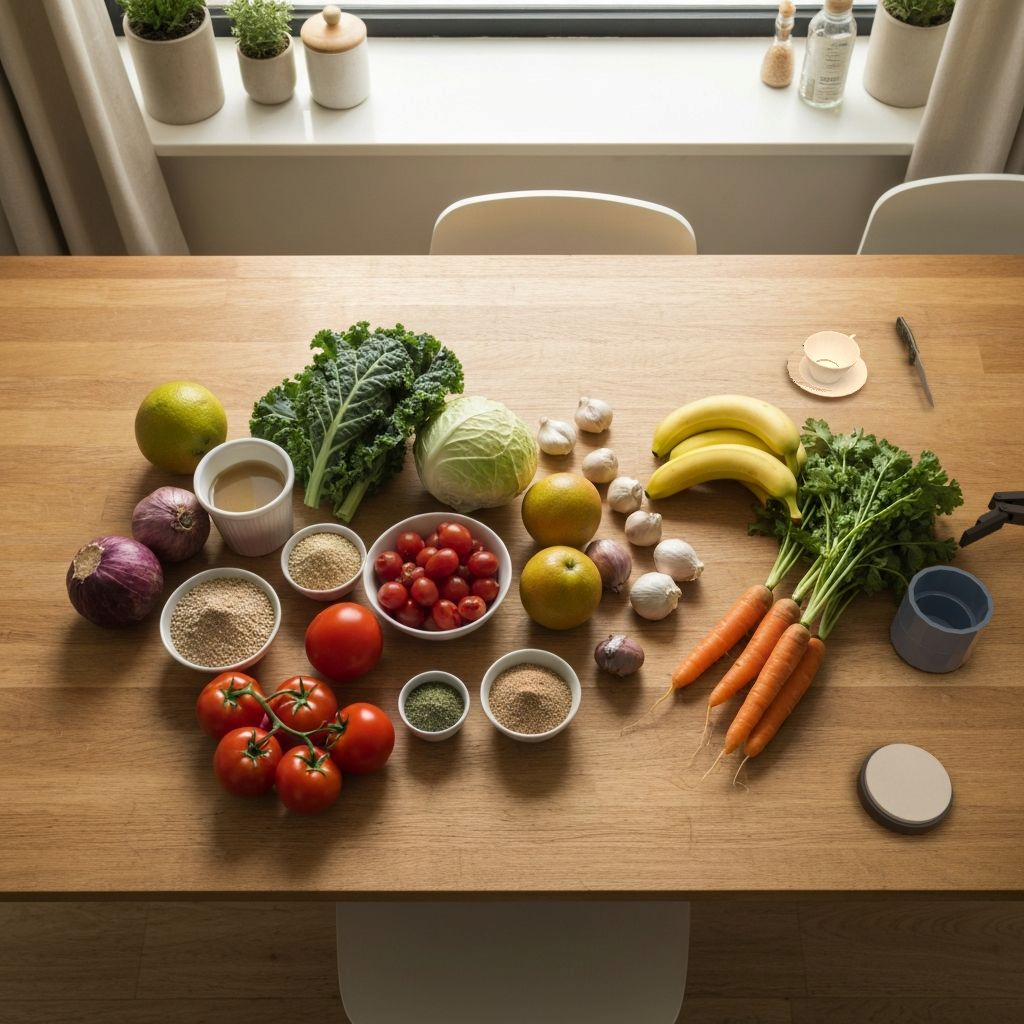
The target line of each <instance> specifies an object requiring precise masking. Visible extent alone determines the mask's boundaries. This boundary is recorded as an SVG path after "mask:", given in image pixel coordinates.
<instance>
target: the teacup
mask: <svg viewBox="0 0 1024 1024" xmlns="http://www.w3.org/2000/svg"><path fill="white" fill-rule="evenodd" d="M856 337H857V335H856V334H855V333H853V334H851V335H850V336H848V335H847V334H844V333H841V332H837V331H831V330H830V331H829V330H824V331H823V330H822V331H818V332H816V333H813V334H811V335H810V336H808V337H807V338H806V340H805V342H804V344H803V345H804V351H805V355H806V356H804V357H803V358H802V360H801V361H800V363H799V369H798V370H799V373H800V375H801V377H802V378H803V379H804V380H805V381H806V382H807V383H809V384H810V385H812V386H814V387H817V388H820V389H826V390H832V391H825V390H824V391H825V392H824V391H823V390H822V391H823V392H822V391H818V390H817V391H816V389H815V390H813V389H812V388H809V387H806V386H803V385H800V384H798V383H796V381H795V380H792V381H793V382H794V381H795V382H794V384H796V385H797V386H798V387H799V386H800V387H799V388H801V389H802V390H804V391H806V392H807V393H810V394H813V395H815V396H816V395H817V396H820V397H825V398H826V397H827V398H839V397H845V396H849V395H851V394H854V393H856V392H857V391H859V390H860V389H861V388H862V387H863V386H864V385H865V384H866V382H867V379H868V368H867V366H866V363H865V360H863V358H861V350H860V346H859V345H858V343H857V342H856V341H855V340H856ZM820 359H828V360H831V361H833V362H835V363H837V365H838V366H839V367H838V366H837V365H836V364H834V363H832V362H829V361H820V362H816V361H817V360H820ZM853 366H854V367H853ZM812 374H813V375H814V376H815V377H814V376H813V375H812ZM791 378H792V377H790V379H791ZM817 378H818V379H817ZM819 379H820V380H819ZM822 380H823V381H822ZM835 380H836V381H835ZM826 381H831V382H826ZM805 387H806V388H805ZM811 389H812V390H811Z"/></svg>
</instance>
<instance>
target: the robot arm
mask: <svg viewBox="0 0 1024 1024" xmlns="http://www.w3.org/2000/svg"><path fill="white" fill-rule="evenodd" d="M987 508H988V510H990V511H987V512H986V513H985V512H984V513H983V514H981V515H980V516H978V518H977V520H976V522H975V524H974V526H972V527H970V528H968V529H965V530H964V531H963V533H962V535H961V537H960V539H959V541H958V543H957V545H958V546H959V547H960V548H961V549H964V548H965V547H968V546H969V545H972V544H974V543H976V542H979V541H980V540H982V539H984V538H986V537H988V536H989V535H991V534H993V533H996V532H998V531H999V530H1002V528H1003V527H1004V525H1005V524H1008V525H1014V526H1021V527H1024V490H1012V491H1011V490H1010V491H1008V490H1007V491H995V492H993V494H992V496H991V498H990V500H989V502H988V505H987Z"/></svg>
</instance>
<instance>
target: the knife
mask: <svg viewBox="0 0 1024 1024" xmlns="http://www.w3.org/2000/svg"><path fill="white" fill-rule="evenodd" d="M895 324H896V330H897V333H898V334H899V336H900V338H901V341H902V343H903V344H904V345H905V346H906V349H907V353H908V362H909V364H911V365H914V368H915V371H916V374H917V376H918V379H919V382H920V385H921V388H922V390H923V393H924V395H925V398H926V400H927V403H928V404H929V406H930V407H931V408H933V409H935V404H934V399H933V398H934V397H933V393H932V392H931V389H930V385H929V383H928V382H929V381H928V380H927V375H926V370H925V367H924V365H923V362H922V360H921V356H920V350H919V348H918V346H917V342H916V339H915V336H914V334H913V332H912V330H911V328H910V327H909V325H908V324H907V322H906V320H905V319H904V317H903V316H898V317H897V318H896V323H895Z"/></svg>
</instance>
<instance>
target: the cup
mask: <svg viewBox="0 0 1024 1024" xmlns="http://www.w3.org/2000/svg"><path fill="white" fill-rule="evenodd" d="M994 612H995V608H994V600H993V595H992V594H991V593H990V591H989V590H988V587H987V586H986V585H985V583H984V582H983V581H981V580H980V579H979V578H977V577H976V576H975V575H974V574H972V573H971V572H968V571H965V570H964V569H961V568H959V567H956V566H949V565H940V564H939V565H934V566H929V567H924V568H923V569H922V570H920V571H919V572H917V573H916V574H914V575H913V576H912V579H911V581H910V583H909V585H908V587H907V589H906V591H905V593H904V596H903V598H902V600H901V602H900V604H899V607H898V609H897V611H896V613H895V616H894V618H893V620H892V622H891V624H890V627H889V628H890V629H889V631H890V632H889V634H890V642H891V644H892V645H893V648H894V649H895V651H896V653H897V654H898V655H899V656H900V657H901V658H902V659H903V660H904V661H906V662H907V664H909V665H911V666H913V667H915V668H917V669H919V670H921V671H923V672H930V673H935V674H936V673H938V674H943V673H948V672H951V671H952V672H953V671H956V670H957V669H959V668H960V667H962V666H963V665H964V664H965V663H967V661H968V660H969V658H970V656H971V655H972V653H973V651H974V650H975V648H976V645H977V644H978V643H979V641H980V639H981V637H982V636H983V634H984V633H985V630H986V629H987V627H988V625H989V624H990V622H991V619H992V617H993V614H994Z"/></svg>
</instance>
